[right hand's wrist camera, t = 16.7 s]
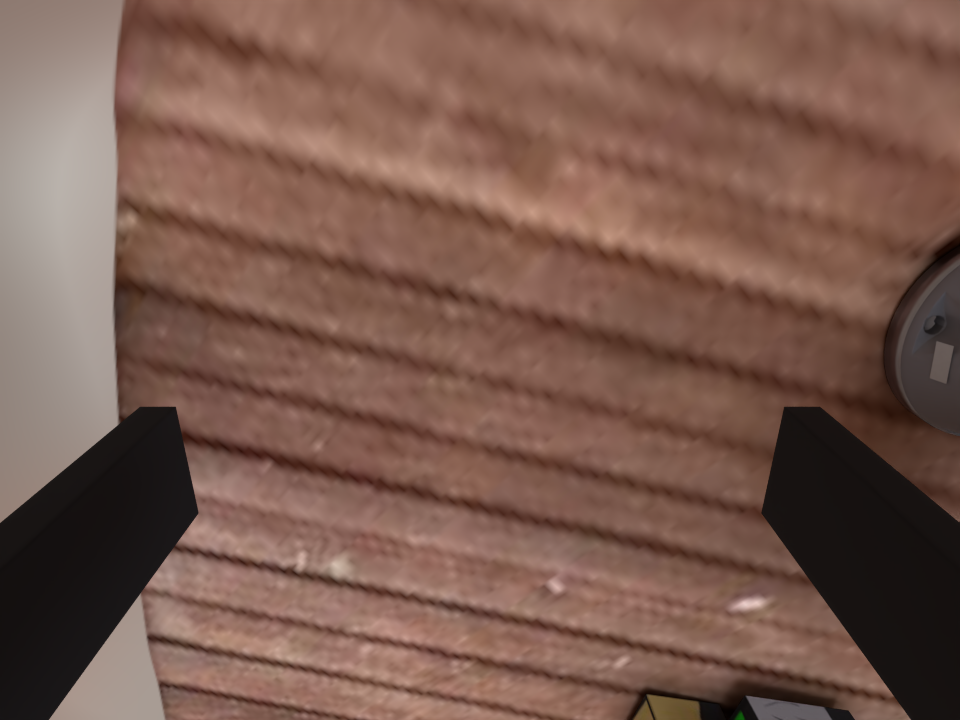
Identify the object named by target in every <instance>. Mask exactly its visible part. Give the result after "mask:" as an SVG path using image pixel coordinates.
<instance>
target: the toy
mask: <svg viewBox="0 0 960 720" xmlns="http://www.w3.org/2000/svg"><path fill="white" fill-rule="evenodd" d="M632 720H726V718H725V716H724V714H723V712H722V710H721V708H720V705H719V704H713V703H706V702H699V701H692V700H685V699H678V698H671V697H664V696H657V695H650V694H646V695H645V697H644V698H643V700H642V702H641V704H640V706H639V707H638V709H637V711H636V713H635V714H634V716H633V718H632ZM729 720H855V719H854V718H853V717H852V715H851V714H850V712H849V711H848V710H841V709H834V708H827V707H820V706H814V705H807V704H800V703H793V702H786V701H780V700H773V699H766V698H759V697H752V696H744V697H743V699H742V700H741V702H740V704H739V705H738V707H737V708H736V710H735V711H734V713H733V714H732V716H731V717H730V719H729Z"/></svg>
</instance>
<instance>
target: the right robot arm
mask: <svg viewBox="0 0 960 720" xmlns="http://www.w3.org/2000/svg"><path fill="white" fill-rule="evenodd" d="M884 365H885V372H886V377H887V380H888V383H889V385H890V387H891V389H892V391H893V393H894V395H895V396H896V398H897V399H898V400H899V401H900V403H901V404H902V405H903V406H904V407H905V408H907V409H908V410H909V411H910V412H912V413H913V414H915V415H916V416H918V417H919V418H921V419H922V420H924V421H925V422H927V423H928V424H930V425H931V426H933V427H935V428H937V429H939V430H941V431H944V432H946V433H949V434H953V435H957V436H960V246H959V247H957V248H955V249H954V250H952V251H951V252H949V253H948V254H946V255H945V256H943V257H942V258H941V259H939V260H938V261H937V262H936V263H934V264H933V265H932V266H931V267H930V268H929V269H928V270H927V271H926V272H925V273H923V275H922V276H921V277H920V278H919V279H918V280H917V281H916V282H915V283H914V285H913V286H912V287H911V288H910V290H909V291H908V292H907V294H906V295H905V297H904V298H903V300H902V301H901V303H900V305H899V307H898V308H897V310H896V312H895V314H894V317H893V319H892V321H891V324H890V327H889V330H888V333H887V337H886V342H885V349H884ZM197 515H198V508H197V504H196V499H195V494H194V490H193V485H192V480H191V476H190V471H189V466H188V462H187V457H186V452H185V448H184V443H183V439H182V434H181V429H180V425H179V420H178V415H177V411H176V407H139V408H138V409H137V410H136V411H135V412H133V413H132V414H131V415H130V416H129V417H127V418H126V419H125V420H124V421H123V422H121V423H120V424H119V425H118V426H117V427H115V428H114V429H113V430H112V431H111V432H109V433H108V434H107V435H106V436H104V437H103V438H102V439H101V440H100V441H98V442H97V443H96V444H95V445H94V446H92V447H91V448H90V449H89V450H88V451H86V452H85V453H84V454H83V455H82V456H80V457H79V458H78V459H77V460H76V461H74V462H73V463H72V464H71V465H70V466H68V467H67V468H66V469H65V470H64V471H62V472H61V473H60V474H59V475H58V476H56V477H55V478H54V479H53V480H51V481H50V482H49V483H48V484H47V485H45V486H44V487H43V488H42V489H41V490H39V491H38V492H37V493H36V494H35V495H33V496H32V497H31V498H30V499H29V500H27V501H26V502H25V503H24V504H23V505H21V506H20V507H19V508H18V509H17V510H15V511H14V512H13V513H12V514H11V515H9V516H8V517H7V518H6V519H5V520H3V521H2V522H1V523H0V720H49V719H50V717H51V716H52V715H53V713H54V712H55V710H56V709H57V708H58V706H59V705H60V703H61V702H62V701H63V699H64V698H65V697H66V695H67V694H68V692H69V691H70V690H71V688H72V687H73V686H74V684H75V683H76V681H77V680H78V679H79V677H80V676H81V675H82V673H83V672H84V670H85V669H86V668H87V666H88V665H89V664H90V662H91V661H92V659H93V658H94V657H95V655H96V654H97V652H98V651H99V650H100V648H101V647H102V646H103V644H104V643H105V641H106V640H107V639H108V637H109V636H110V635H111V633H112V632H113V630H114V629H115V628H116V626H117V625H118V624H119V622H120V621H121V619H122V618H123V617H124V615H125V614H126V612H127V611H128V610H129V608H130V607H131V606H132V604H133V603H134V601H135V600H136V599H137V597H138V596H139V595H140V593H141V592H142V590H143V589H144V588H145V586H146V585H147V584H148V582H149V581H150V579H151V578H152V577H153V575H154V574H155V572H156V571H157V570H158V568H159V567H160V566H161V564H162V563H163V561H164V560H165V559H166V557H167V556H168V555H169V553H170V552H171V550H172V549H173V548H174V546H175V545H176V544H177V542H178V541H179V539H180V538H181V537H182V535H183V534H184V532H185V531H186V530H187V528H188V527H189V526H190V524H191V523H192V521H193V520H194V519H195V517H196V516H197ZM762 515H763V516H764V517H765V519H766V520H767V521H768V523H769V524H770V526H771V527H772V528H773V530H774V531H775V532H776V534H777V535H778V537H779V538H780V539H781V541H782V542H783V544H784V545H785V546H786V548H787V549H788V550H789V552H790V553H791V555H792V556H793V557H794V559H795V560H796V561H797V563H798V564H799V566H800V567H801V568H802V570H803V571H804V572H805V574H806V575H807V577H808V578H809V579H810V581H811V582H812V584H813V585H814V586H815V588H816V589H817V590H818V592H819V593H820V595H821V596H822V597H823V599H824V600H825V601H826V603H827V604H828V606H829V607H830V608H831V610H832V611H833V612H834V614H835V615H836V617H837V618H838V619H839V621H840V622H841V624H842V625H843V626H844V628H845V629H846V630H847V632H848V633H849V635H850V636H851V637H852V639H853V640H854V641H855V643H856V644H857V646H858V647H859V648H860V650H861V651H862V653H863V654H864V655H865V657H866V658H867V659H868V661H869V662H870V664H871V665H872V666H873V668H874V669H875V670H876V672H877V673H878V675H879V676H880V677H881V679H882V680H883V681H884V683H885V684H886V686H887V687H888V688H889V690H890V691H891V693H892V694H893V695H894V697H895V698H896V699H897V701H898V702H899V704H900V705H901V706H902V708H903V709H904V710H905V712H906V713H907V715H908V716H909V718H910V719H911V720H960V522H958V521H957V520H955V519H954V518H953V517H952V516H951V515H949V514H948V513H947V512H946V511H945V510H943V509H942V508H941V507H940V506H939V505H937V504H936V503H935V502H934V501H933V500H931V499H930V498H929V497H928V496H927V495H925V494H924V493H923V492H922V491H921V490H919V489H918V488H917V487H916V486H915V485H913V484H912V483H911V482H910V481H909V480H907V479H906V478H905V477H904V476H902V475H901V474H900V473H899V472H898V471H896V470H895V469H894V468H893V467H892V466H890V465H889V464H888V463H887V462H886V461H884V460H883V459H882V458H881V457H880V456H878V455H877V454H876V453H875V452H874V451H872V450H871V449H870V448H869V447H868V446H866V445H865V444H864V443H863V442H862V441H860V440H859V439H858V438H857V437H856V436H854V435H853V434H852V433H851V432H849V431H848V430H847V429H846V428H845V427H843V426H842V425H841V424H840V423H839V422H837V421H836V420H835V419H834V418H833V417H831V416H830V415H829V414H828V413H827V412H825V411H824V410H823V409H822V408H821V407H784V411H783V415H782V420H781V425H780V429H779V434H778V439H777V443H776V448H775V452H774V457H773V462H772V466H771V471H770V476H769V480H768V485H767V490H766V494H765V499H764V504H763V508H762Z"/></svg>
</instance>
